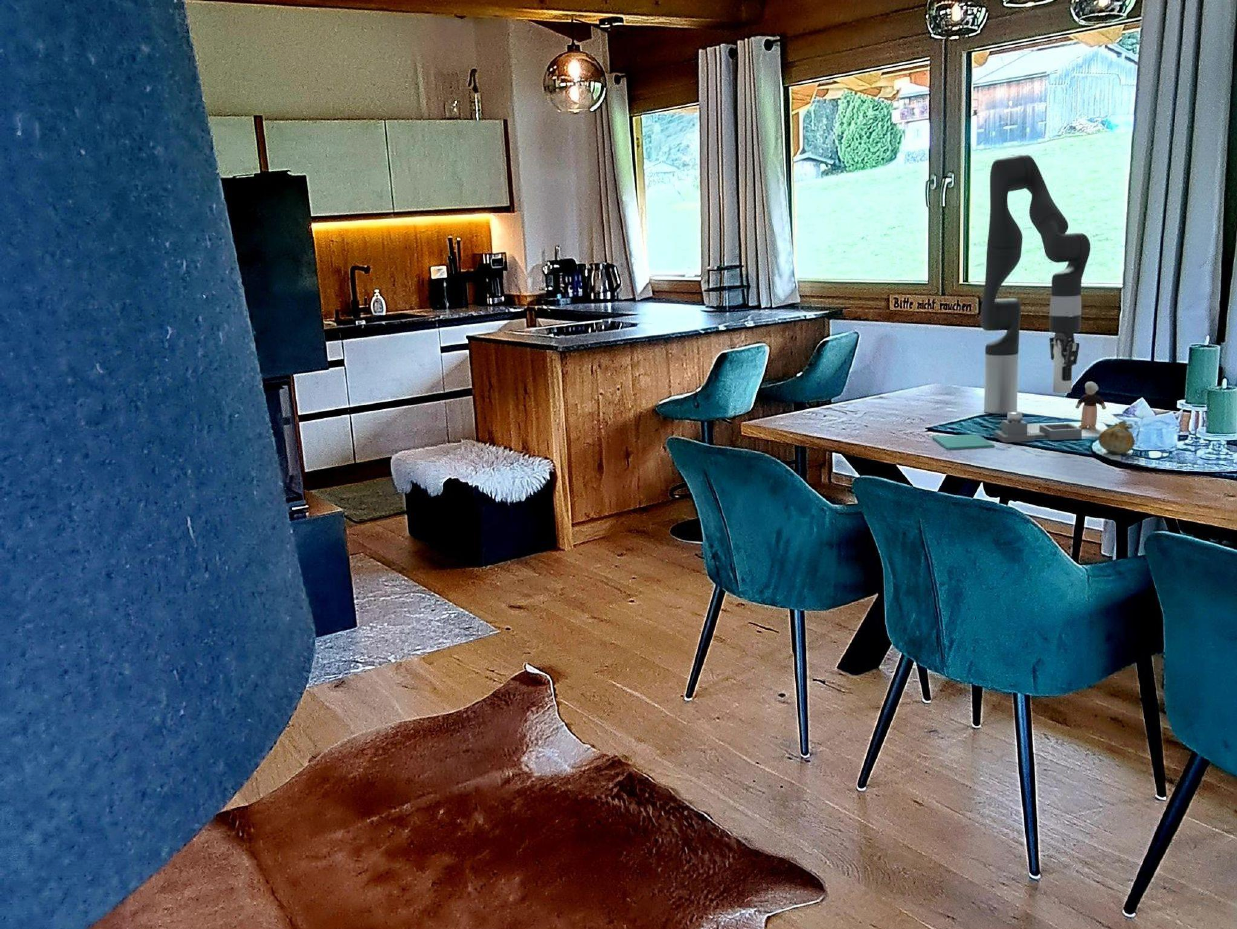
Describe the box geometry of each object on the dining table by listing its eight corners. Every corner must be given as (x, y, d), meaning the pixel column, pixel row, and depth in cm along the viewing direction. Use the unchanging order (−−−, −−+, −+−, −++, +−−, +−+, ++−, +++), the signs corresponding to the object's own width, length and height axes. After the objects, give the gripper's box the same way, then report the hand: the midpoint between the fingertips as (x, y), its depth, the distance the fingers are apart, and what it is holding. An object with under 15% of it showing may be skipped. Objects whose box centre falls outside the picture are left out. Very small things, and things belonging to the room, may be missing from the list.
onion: (1097, 449, 265) (1099, 417, 263) (1133, 450, 262) (1135, 418, 260) (1098, 456, 258) (1099, 423, 256) (1134, 457, 255) (1136, 424, 253)
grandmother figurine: (1073, 429, 289) (1075, 382, 286) (1074, 426, 292) (1076, 380, 289) (1104, 430, 285) (1106, 383, 283) (1105, 427, 289) (1107, 380, 286)
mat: (932, 438, 287) (932, 436, 287) (977, 436, 287) (977, 434, 287) (947, 449, 273) (947, 447, 273) (994, 447, 273) (994, 444, 273)
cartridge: (1050, 390, 281) (1052, 342, 278) (1067, 389, 281) (1069, 341, 278) (1056, 393, 277) (1058, 344, 274) (1074, 392, 277) (1076, 344, 274)
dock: (993, 436, 286) (994, 419, 285) (1069, 432, 285) (1070, 415, 284) (1003, 442, 278) (1004, 425, 277) (1081, 438, 277) (1082, 421, 276)
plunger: (1005, 428, 283) (1005, 411, 282) (1018, 427, 283) (1019, 411, 282) (1009, 431, 279) (1010, 414, 278) (1023, 430, 279) (1024, 413, 278)
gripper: (1040, 311, 281) (1037, 375, 285) (1061, 316, 267) (1058, 384, 271) (1068, 309, 281) (1066, 374, 285) (1091, 315, 267) (1088, 382, 271)
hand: (1062, 378), depth 278 cm, fingers closed on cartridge, 4 cm apart
